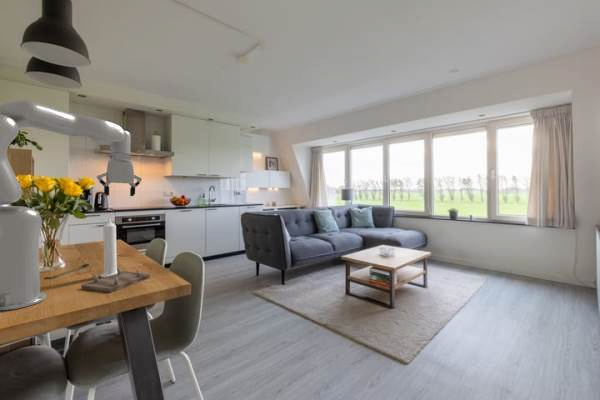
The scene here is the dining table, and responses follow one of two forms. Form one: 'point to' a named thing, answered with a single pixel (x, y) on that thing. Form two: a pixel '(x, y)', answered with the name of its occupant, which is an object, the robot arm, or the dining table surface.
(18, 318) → the dining table surface
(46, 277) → the tactical tomahawk
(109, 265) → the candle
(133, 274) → the peg stand
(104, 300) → the dining table surface
